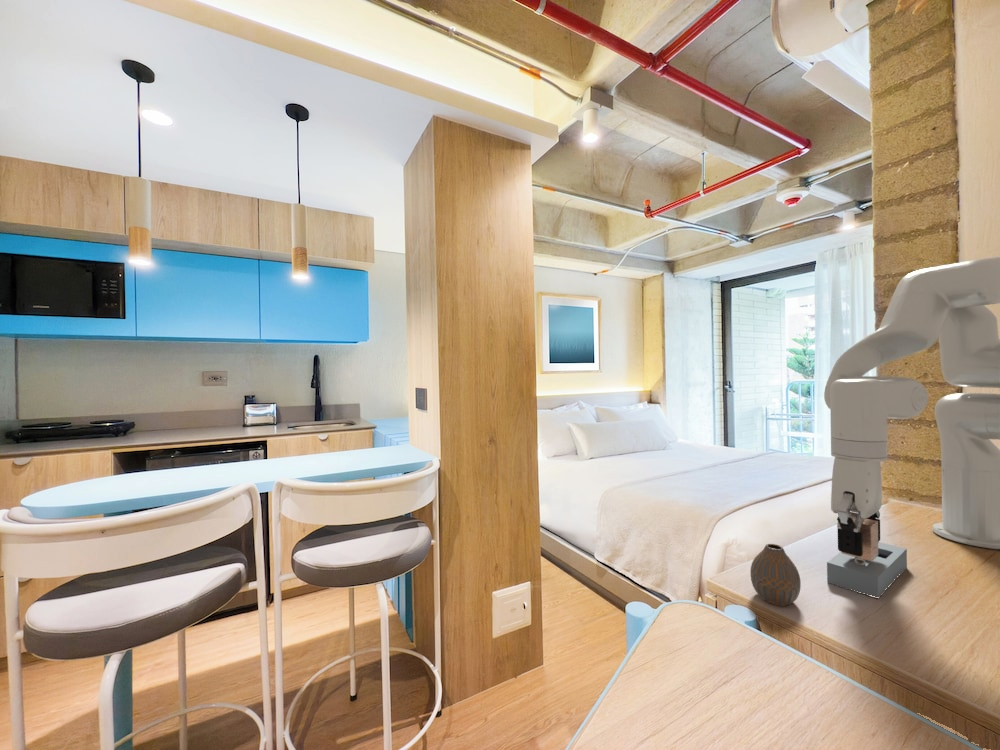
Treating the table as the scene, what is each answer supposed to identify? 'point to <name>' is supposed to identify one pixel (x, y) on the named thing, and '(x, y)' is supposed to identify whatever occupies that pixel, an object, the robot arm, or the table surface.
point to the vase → (775, 576)
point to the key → (868, 541)
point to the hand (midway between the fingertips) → (859, 545)
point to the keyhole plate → (868, 570)
